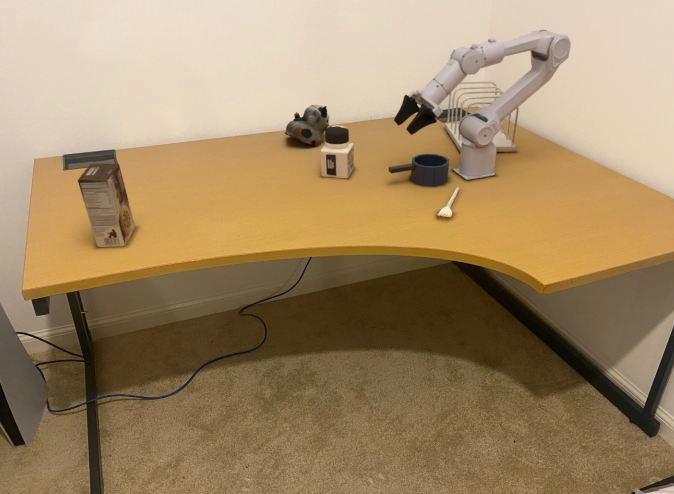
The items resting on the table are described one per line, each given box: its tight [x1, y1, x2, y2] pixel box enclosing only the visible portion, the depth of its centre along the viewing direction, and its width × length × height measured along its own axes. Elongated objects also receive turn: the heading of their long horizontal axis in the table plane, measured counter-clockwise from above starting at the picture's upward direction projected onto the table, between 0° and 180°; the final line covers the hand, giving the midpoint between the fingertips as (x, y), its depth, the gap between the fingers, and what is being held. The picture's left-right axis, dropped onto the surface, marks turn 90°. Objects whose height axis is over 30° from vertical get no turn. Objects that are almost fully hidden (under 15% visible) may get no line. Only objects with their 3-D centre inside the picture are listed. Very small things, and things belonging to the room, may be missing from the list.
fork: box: [436, 186, 460, 218], centre depth 145 cm, size 3×20×2 cm, turn 161°
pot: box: [388, 153, 450, 188], centre depth 157 cm, size 17×10×6 cm, turn 113°
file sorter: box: [444, 80, 520, 153], centre depth 182 cm, size 25×17×16 cm
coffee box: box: [77, 163, 136, 248], centre depth 126 cm, size 9×6×16 cm
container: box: [320, 125, 355, 179], centre depth 159 cm, size 8×8×13 cm
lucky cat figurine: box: [284, 104, 330, 147], centre depth 182 cm, size 15×12×14 cm
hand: (402, 127), depth 147 cm, fingers open, 7 cm apart
